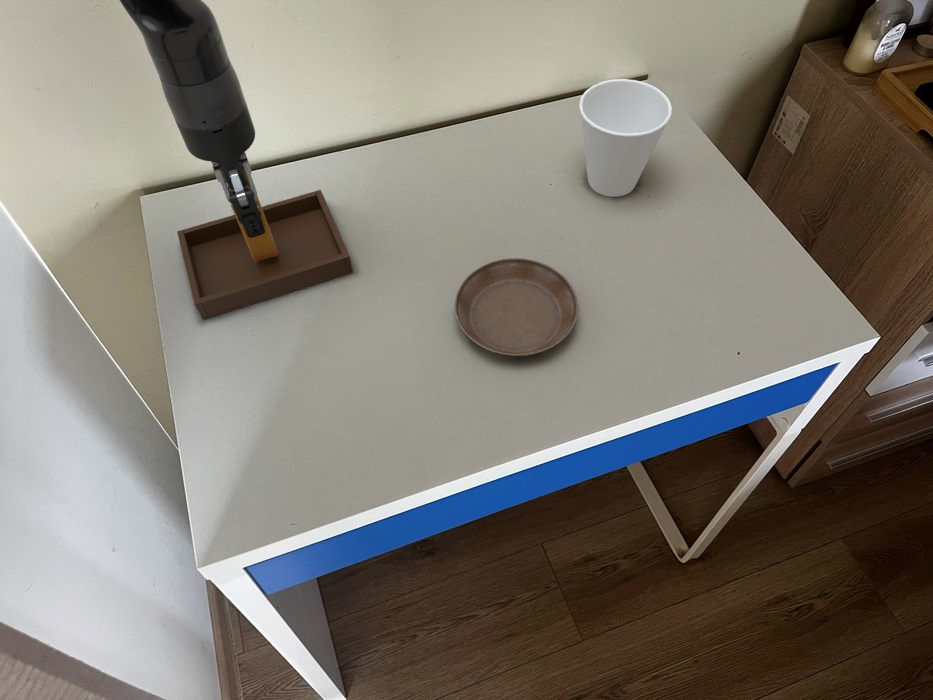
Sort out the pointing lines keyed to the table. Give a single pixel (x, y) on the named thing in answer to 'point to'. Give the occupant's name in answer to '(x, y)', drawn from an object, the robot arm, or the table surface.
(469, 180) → the table surface
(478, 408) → the table surface
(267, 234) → the supplement box
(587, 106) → the cup
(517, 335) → the saucer
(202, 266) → the tray
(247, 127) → the robot arm
